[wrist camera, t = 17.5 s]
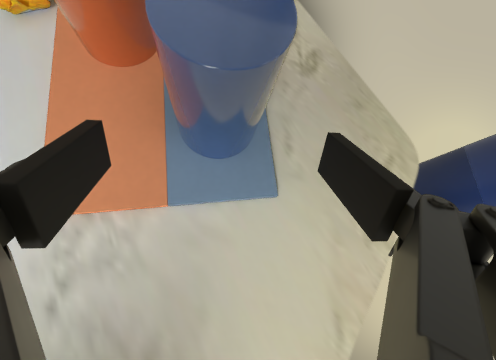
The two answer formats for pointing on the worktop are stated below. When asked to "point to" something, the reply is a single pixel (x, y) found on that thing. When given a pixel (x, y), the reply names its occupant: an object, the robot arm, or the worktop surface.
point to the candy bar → (23, 5)
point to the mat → (145, 136)
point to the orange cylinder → (111, 29)
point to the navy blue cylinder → (220, 65)
